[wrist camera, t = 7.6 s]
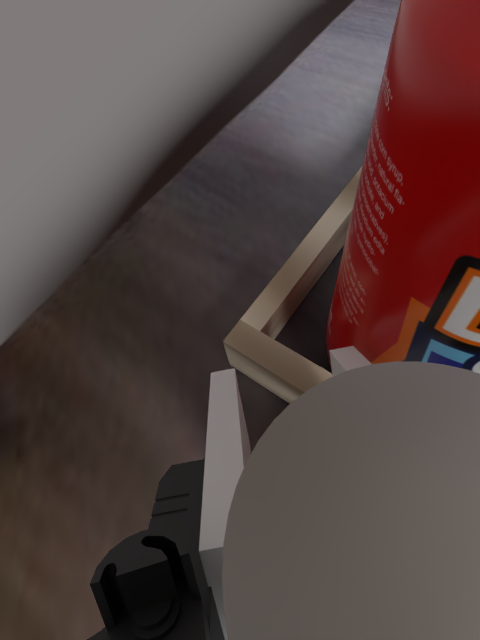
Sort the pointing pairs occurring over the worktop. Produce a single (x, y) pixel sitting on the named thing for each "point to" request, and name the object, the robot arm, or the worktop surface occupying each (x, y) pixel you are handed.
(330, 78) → the worktop surface
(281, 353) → the birch pull frame
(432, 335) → the soda can
